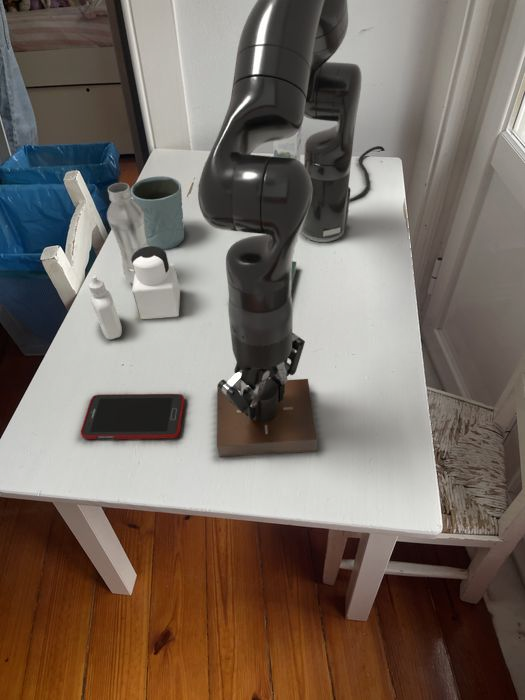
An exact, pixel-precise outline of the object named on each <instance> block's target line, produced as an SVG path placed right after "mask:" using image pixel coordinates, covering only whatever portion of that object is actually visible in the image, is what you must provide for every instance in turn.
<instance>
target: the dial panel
mask: <svg viewBox="0 0 525 700" xmlns="http://www.w3.org/2000/svg"><path fill="white" fill-rule="evenodd" d="M309 383H310V382H309V378H299V379H298V378H297V379H288V380H287V382H286V383H285V389H284V390H285V392H284V395H283V400H282V401H280V402H278V414H277V416H276V417H275V418H274V419H272V420H270V421H260V420H256V421H255V420H253V419H252V420H251V419H250V418H249V417H248V416H246V415H245V414H244V413H242V412H241V411H240V410H238V409H237V408H236V407H235V406H234V405H233V404H232V403H231V402H230V401H229V400H228V399H227V398H226V396H225V395H224V394H223V393H222V391H221V390H220V389H219V387H218V384H217V385H216V386H217V389H216V391H217V393H216V396H217V397H216V401H217V402H216V449H217V454H218V457H219V458H225V457H238V456H255V455H269V454H285V453H301V452H302V453H303V452H317V447H318V435H317V428H316V422H315V415H314V409H313V403H312V402H313V401H312V396H311V390H310V384H309ZM241 388H242V387H241V385H240V390H241ZM249 394H250V392H249Z"/></svg>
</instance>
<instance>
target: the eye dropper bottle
mask: <svg viewBox="0 0 525 700" xmlns="http://www.w3.org/2000/svg"><path fill="white" fill-rule="evenodd" d="M88 288H89V291H90V293H91V294H90V302H91V305H92V308H93V310H94V313H95V316H96V318H97V321H98V322H99V326H100V329H101V331H102V333H103V335H104V337H105V338H106V339H107V340H114V339H118V338H120V337H121V336H122V333H123V327H122V323H121V320H120V317H119V313H118V311H117V308H116V305H115V302H114V300H113V296H112V294H111V292H110V290H108V289H107V288H106V286H105V282H104V280H103V279H98V277H97V275H91V281H90V282H89V283H88Z"/></svg>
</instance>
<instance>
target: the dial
mask: <svg viewBox="0 0 525 700" xmlns="http://www.w3.org/2000/svg"><path fill="white" fill-rule="evenodd" d="M250 395H251V393H250ZM258 403H259V414H260V418H259V419H258V420H260V421H270V420H272V419H274V418H275V417H276V416H277V414H278V386H277V384H276V383H275V382H274V381H273V380H271V379H270V378H269V379H268V380H267V381H266V384H265V388H264V392H263V394H261V395H260V397H259V401H258Z"/></svg>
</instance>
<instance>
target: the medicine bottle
mask: <svg viewBox="0 0 525 700" xmlns="http://www.w3.org/2000/svg"><path fill="white" fill-rule="evenodd" d="M131 261H132V265H133V268H134V272H135V276H134V282H133V284H132V289H131V291H132V295H133V298H134V301H135V305H136V308H137V311H138V315H139V318H140V320H151V319H163V318H175V317H176V318H177V317H179V316H180V302H181V290H180V285H179V280H178V275H177V270H176V269H177V268H176V264H175V263H169V260H168V255H167V252H166V251H165V249H161V248H159V247H155V246H149V247H144V248H141V249H139V250H137V251H136V252H135V253H134V254H133V256H132V258H131Z"/></svg>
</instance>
